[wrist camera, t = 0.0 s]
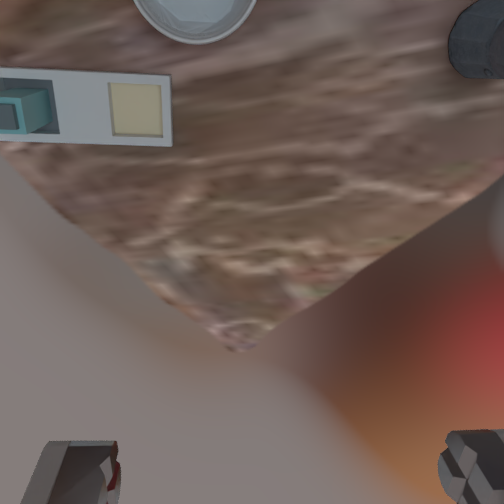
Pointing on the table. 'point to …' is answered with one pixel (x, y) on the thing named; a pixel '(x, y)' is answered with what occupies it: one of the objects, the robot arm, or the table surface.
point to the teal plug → (24, 110)
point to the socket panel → (98, 106)
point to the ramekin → (195, 18)
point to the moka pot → (479, 41)
